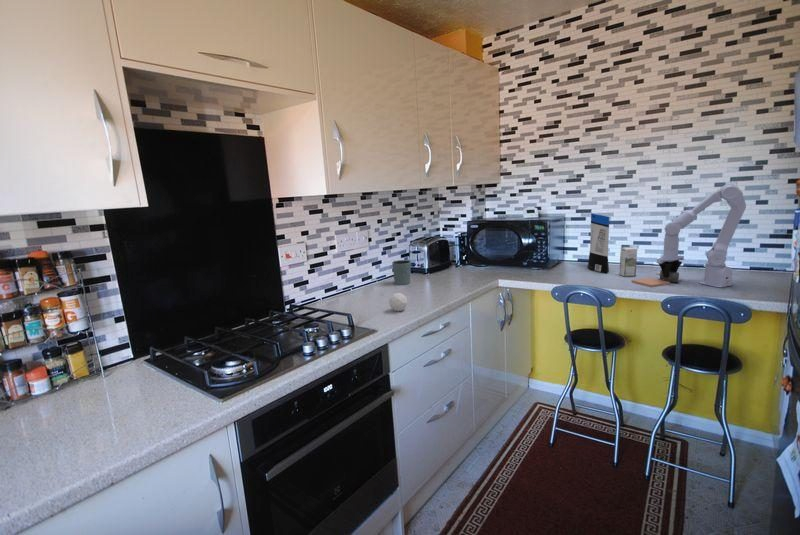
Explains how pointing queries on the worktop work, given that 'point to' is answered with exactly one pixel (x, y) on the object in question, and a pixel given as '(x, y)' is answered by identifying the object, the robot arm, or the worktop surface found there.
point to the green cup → (401, 272)
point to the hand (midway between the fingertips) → (669, 276)
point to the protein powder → (599, 244)
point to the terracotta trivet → (650, 282)
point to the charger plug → (670, 276)
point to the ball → (398, 302)
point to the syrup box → (628, 261)
